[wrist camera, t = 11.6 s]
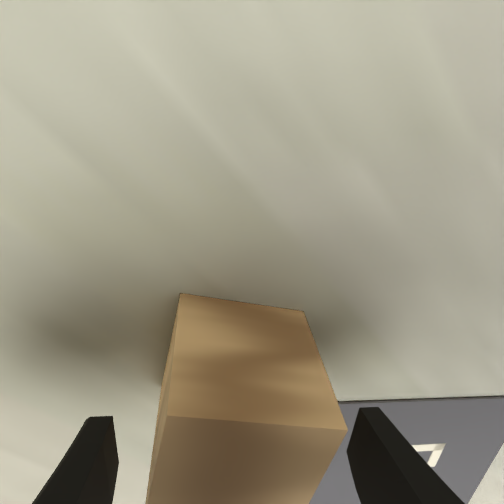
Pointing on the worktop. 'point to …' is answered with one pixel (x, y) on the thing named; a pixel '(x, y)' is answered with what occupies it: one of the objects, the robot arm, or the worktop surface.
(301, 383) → the oak block
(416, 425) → the mat
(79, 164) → the worktop surface
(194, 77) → the worktop surface
